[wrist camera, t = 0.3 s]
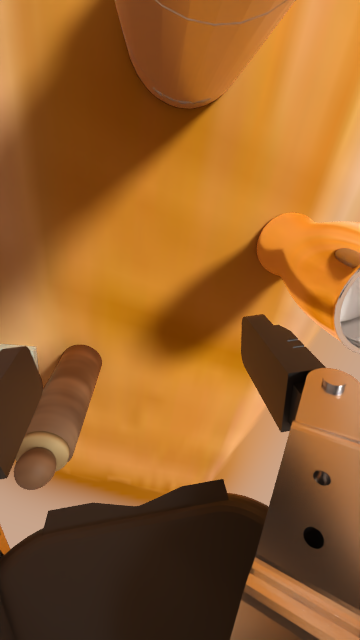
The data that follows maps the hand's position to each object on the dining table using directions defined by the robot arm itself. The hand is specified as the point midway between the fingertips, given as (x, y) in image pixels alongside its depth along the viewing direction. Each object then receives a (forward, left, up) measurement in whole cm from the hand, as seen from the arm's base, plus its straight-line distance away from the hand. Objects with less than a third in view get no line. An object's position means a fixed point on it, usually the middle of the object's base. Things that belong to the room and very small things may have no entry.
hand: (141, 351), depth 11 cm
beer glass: (-2, +13, -19) cm, 23 cm away
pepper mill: (+14, -7, -19) cm, 25 cm away
